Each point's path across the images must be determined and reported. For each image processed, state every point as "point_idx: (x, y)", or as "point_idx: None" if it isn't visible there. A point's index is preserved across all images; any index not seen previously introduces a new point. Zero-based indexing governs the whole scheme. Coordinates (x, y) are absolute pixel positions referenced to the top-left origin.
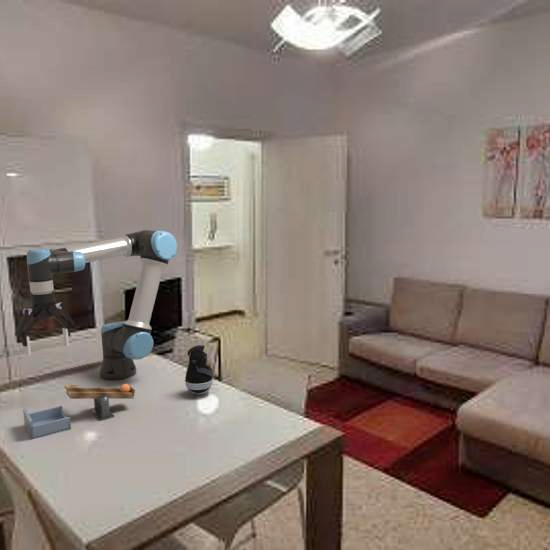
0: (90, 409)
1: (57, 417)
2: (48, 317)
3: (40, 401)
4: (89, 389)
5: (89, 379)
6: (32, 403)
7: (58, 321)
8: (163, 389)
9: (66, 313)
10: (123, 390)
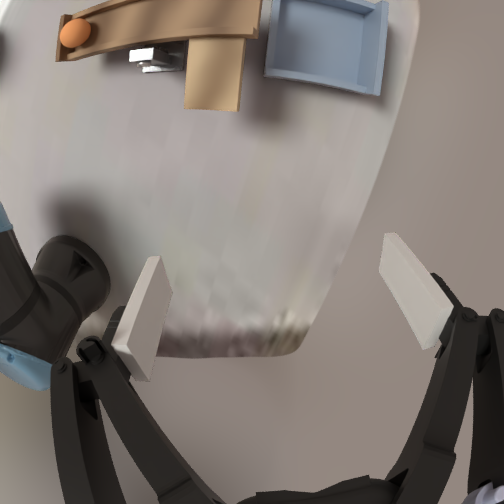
0: (182, 69)
1: (280, 68)
2: (280, 492)
3: (273, 224)
4: (171, 31)
5: (133, 284)
6: (294, 224)
7: (165, 435)
8: (11, 115)
9: (70, 473)
10: (84, 19)
